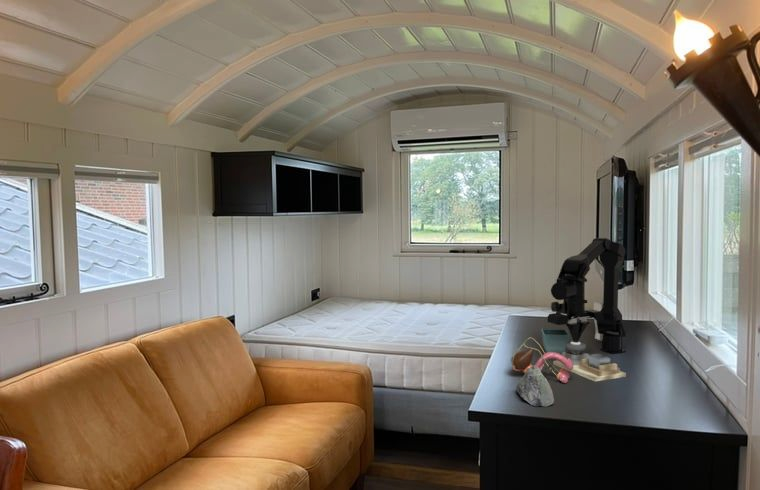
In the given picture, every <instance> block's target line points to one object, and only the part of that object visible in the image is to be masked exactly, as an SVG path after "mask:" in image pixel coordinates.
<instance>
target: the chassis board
mask: <svg viewBox="0 0 760 490" xmlns="http://www.w3.org/2000/svg"><path fill="white" fill-rule="evenodd" d="M562 355H563V356H564V357H566V358H567V359H568V358H570V359H571V362H572V363H573V369H572V370H568V369H567V368H566V367H565V365H563V364H562V363H561V362H559V361H557V360H553V361H552V365H553V366H555V367H558V368H560V369H563V370H566V371H567V372H571V373H573V374H576V375H578V376H580V377H583V378H586V379H587V380H590V381H592V382H600V381H607V380H613V379H620V378H626V377H627V373H626V372H624V371H621V370H620V369H621V368H620V367H618V363H615V362H614V363H610V364H607V365H600V366H599V370H598V369H595V368H593V367H590V366H589V356H590V354H589V353H586V352H585V351H583V352H579V354H578V355H574V354H572V351H568V350H567V351H566V352H562Z"/></svg>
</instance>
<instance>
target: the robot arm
mask: <svg viewBox="0 0 760 490" xmlns="http://www.w3.org/2000/svg"><path fill="white" fill-rule="evenodd" d="M625 255H626V248H625V247H624V246H623V245H622V243H618V242H616V241H612V240H611V239H609V238H607V237H596V238H595V237H594V238H593V239H592V241H591V242H590V243H589V244H588V245H587V246H586V247H585V248H584V249H583V250H582V251H581V252H580V253H579V254H576V255H572V256H570V257H568V258H566V259H565V260H564V261H563V263H562V266H561V268H560V270H559V274H558V277H557V278H556V282H554V284H552V286H551V288H550V294H551V296H552V297H553V298H554V299H555V300H557V301H552V302H551V304H550V309H551V312H552V313H549V314H548V315H547V322H548V323H550V324H554V325H557V326H566V327H567V329H568V331H569V332H570V336H571V339H572V341H574V342H575V343H577V342H580V339H581V337H582V335H583V332H584V331H585V330H586V328H587V327H588V326H589V325H590V324H591V323H590V322H589V321H588V320H587V319H595V320H596V321H597V328H598V333H599V334H603V339H602V341H601V347H600V348H599V350H600V351H601V352H602V351H603V352H606V353H609V354H613V355H614V354H620V353H626V352H627V351H626V349H623V338H625V337H627V335H628V328H627V326H626V325H625V322H624V321H623V314H622V313H621V311H620V309H619V305H618V304H619V301H618V300H619V272H620V271H619V269H620V267H621V265H622V264H623V262H624V261H625ZM597 258H599V262H600V263H601V265H602V267H603V296H602V297H603V298H602V301H603V308H602V309H601V311H597V310H594V308H591V309H585V308H586V307H585V306H586V305H585V304H588V299H585V297H586V296H585V293H586V291H585V290H586V289H585V283H587V282H588V279H587V278H586V276H587V274H588V273H589V271H590V270H591V268H590V266H591V264H592V263H593V262H594V261H595V260H596V259H597ZM558 301H563V302H562V303H559V302H558Z"/></svg>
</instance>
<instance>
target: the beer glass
mask: <svg viewBox="0 0 760 490" xmlns="http://www.w3.org/2000/svg"><path fill="white" fill-rule="evenodd" d="M602 308H603V300H595V301H594V302H593V310H597V311H601V309H602ZM593 319H594V318H593ZM594 326H595V334H594V339H595V340H596V339H597V341H600V342H602V339H603V334H599V333H598V328H597V321H596V320H595V319H594Z"/></svg>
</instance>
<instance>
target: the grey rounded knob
mask: <svg viewBox="0 0 760 490" xmlns="http://www.w3.org/2000/svg"><path fill="white" fill-rule="evenodd" d="M586 347H587V344H586V343H584V342H581V341H578V342H577V343H575V342H574V341H573V340H572V341H569V342H567V343H565V349H566V350H567V351H572V354H574V355H578V354H579V352H586V350H587V349H586Z"/></svg>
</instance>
